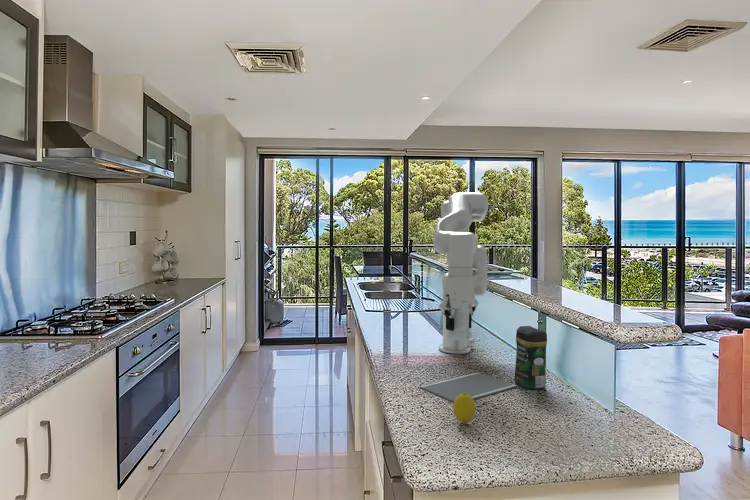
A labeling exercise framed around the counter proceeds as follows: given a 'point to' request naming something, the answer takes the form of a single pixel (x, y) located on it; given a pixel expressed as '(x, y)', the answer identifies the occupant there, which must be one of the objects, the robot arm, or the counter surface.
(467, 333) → the skincare box
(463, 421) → the lemon
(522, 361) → the coffee jar
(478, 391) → the mat
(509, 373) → the counter surface
